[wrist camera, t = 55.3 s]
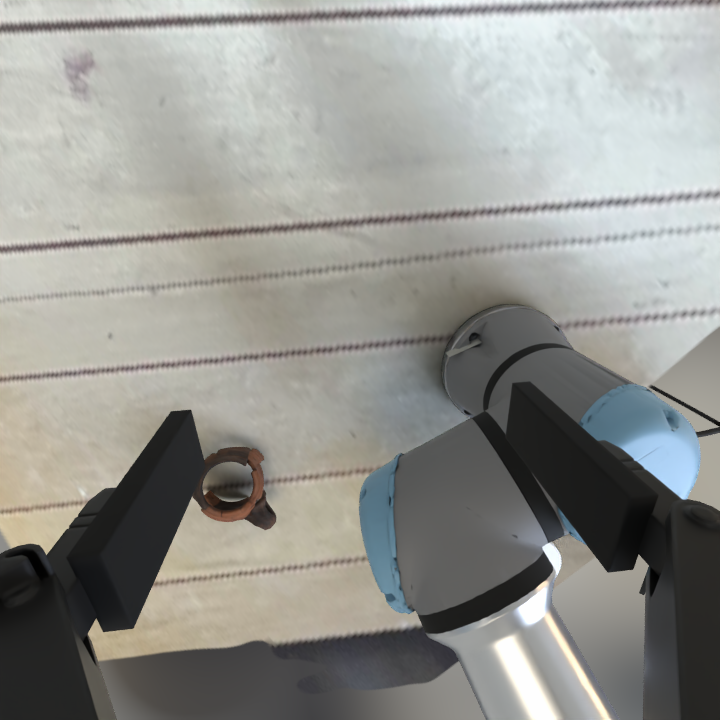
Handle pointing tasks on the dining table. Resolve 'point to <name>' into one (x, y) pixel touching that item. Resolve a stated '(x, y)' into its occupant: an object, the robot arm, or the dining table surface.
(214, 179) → the dining table surface
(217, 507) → the brown notched ring
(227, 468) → the dining table surface
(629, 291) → the dining table surface
